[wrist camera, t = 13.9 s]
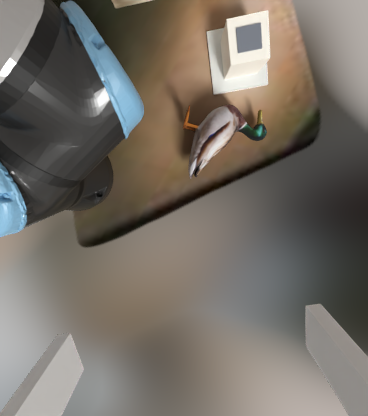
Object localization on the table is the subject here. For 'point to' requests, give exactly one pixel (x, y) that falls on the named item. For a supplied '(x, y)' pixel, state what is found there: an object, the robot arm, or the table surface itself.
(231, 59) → the cream cube
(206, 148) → the decorative duck model
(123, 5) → the birch screen
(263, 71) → the felt mat
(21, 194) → the robot arm
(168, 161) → the table surface
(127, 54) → the table surface
